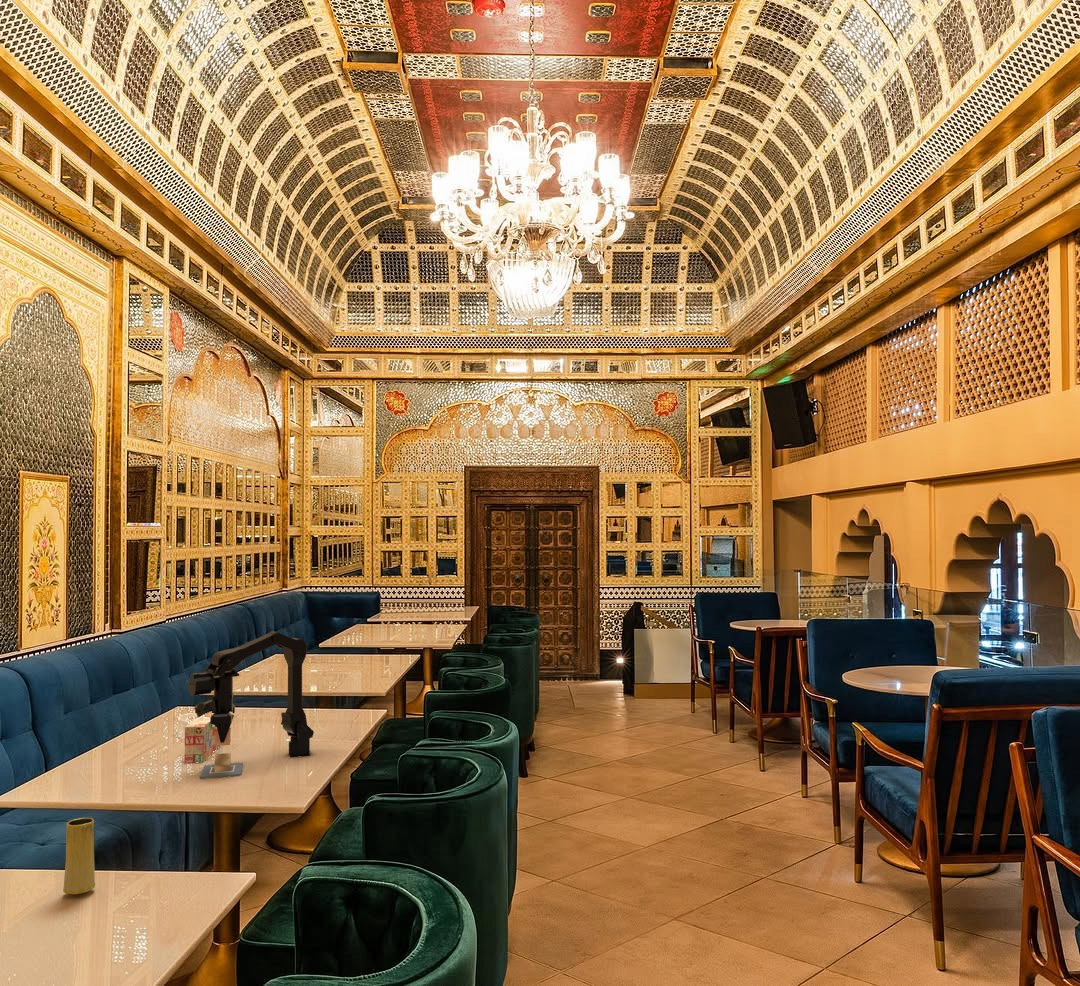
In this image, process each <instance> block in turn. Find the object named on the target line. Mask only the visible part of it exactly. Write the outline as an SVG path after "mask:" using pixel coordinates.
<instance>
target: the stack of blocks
mask: <svg viewBox="0 0 1080 986" xmlns="http://www.w3.org/2000/svg"><path fill="white" fill-rule="evenodd" d="M208 718H209V719H197V718H195V719H193V720H192V721H191V722H189V723H190V724H188V725H187V726H186V727H185V740H184V762H183V763H184V764H197V763H196V762H204V761H205V760H206V759H207V758H208V757H209V756H210V755H211V754H212V753H213V751H215V750H216V749H217V748H218V747H219V746H215V730H216V729H217V727H216V726H215V725H213V724H210V718H211V717H208ZM218 749H219V748H218ZM215 752H216V751H215ZM213 754H214V753H213ZM213 754H212V755H213ZM212 755H211V756H212ZM211 756H210V757H211ZM210 757H209V758H210ZM209 758H208V759H209ZM208 759H207V760H208ZM207 760H206V761H207ZM206 761H205V762H206ZM205 762H204V763H205Z"/></svg>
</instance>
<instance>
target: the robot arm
mask: <svg viewBox="0 0 1080 986" xmlns="http://www.w3.org/2000/svg"><path fill="white" fill-rule="evenodd" d="M273 646H276V647H277V648H280V649H282V650H283V651H282V652H283V653H282V654H283V657H284V660H285V662H286V665H287V707H286V710H285V712H283V711H282V712H281V714H280V715H281V721H280V725H282V728H283V730H284V731H285V732H286V734H287V736H288V737H290V740H289V741H288V755H289V758H299V757H298V756H302V757H310V756H311V751H310V750H311V747H310V745H311V742H310V741H311V740H310V739H312V738H313V737H314V734H315V731H314V730H313V729H312V728H311V727H310V726H309V725H308V720H307V716H306V713H305V710H304V707H303V664H304V662H305V659H306V657H307V651H308V643H307V642H306V641H305V640H304V639H301V638H296V637H289V636H286V635H285V634H283V633H281V632H277V631H269V632H267V633H266V634H264V635H262V636H260V637H257V638H256V639H253V640H250V641H249V642H247V643H244V644H242V645H240V646H238V647H234V648H229V649H227V648H226V649H224V650H220V651H217V652H215V653H214V654H213V655H212V658H211V661H210V662H209V664H208V666H207V667H206V669H205V670H204V672H198V673H191V674H190V675H191V677H190V678H189V682H188V684H187V688H188V693H189V695H190V696H191V697H193V696H200V695H201V696H202V695H208V694H211V693H213V695H212V698H211V699H209V700H207V701H205V702H203V701H202V702H200V703H198V704H196V705H195V706H194V708H193V709H194V713H196V714H197V717H196V718H200V717H201V716H202V715H206V714H209V713H211V714H212V715H211V716H210V717H209V718H210V724H213V725H215V726H216V727H217V730H218V734H219V738H220V742H221V743H224V741H225V739H226V736H227V733H228V731H229V728H231V726H232V723H233V719H234V717H235V715H234V714H235V713H236V705H235V704H234V702H233V699H234V691H233V690H234V685H233V683H234V682H233V681H234V680H233V679H234V678H235V677H239V676H240V673H238V672H237V671H236V670H235V668H237V666H239V665H240V664H241V663H242V662H243V661H244V660H245V659H247V658H250V657H251V656H253V655H256V654H258V653H261V652H262V651H265V650H266V649H268V648H272V647H273Z"/></svg>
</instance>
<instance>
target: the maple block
mask: <svg viewBox="0 0 1080 986" xmlns="http://www.w3.org/2000/svg"><path fill="white" fill-rule="evenodd" d="M231 759H232V758H231V752H228V753H227V752H226V753H216V754H215V756H214V765H215V766H214V772H220V771H230V764H231V761H232V760H231Z"/></svg>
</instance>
